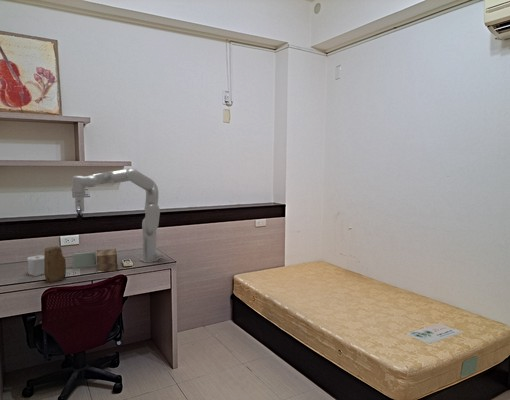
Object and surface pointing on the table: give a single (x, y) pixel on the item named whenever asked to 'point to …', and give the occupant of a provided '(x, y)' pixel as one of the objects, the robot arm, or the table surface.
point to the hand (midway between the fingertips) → (79, 219)
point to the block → (54, 264)
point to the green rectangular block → (84, 259)
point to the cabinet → (107, 260)
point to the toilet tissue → (36, 265)
